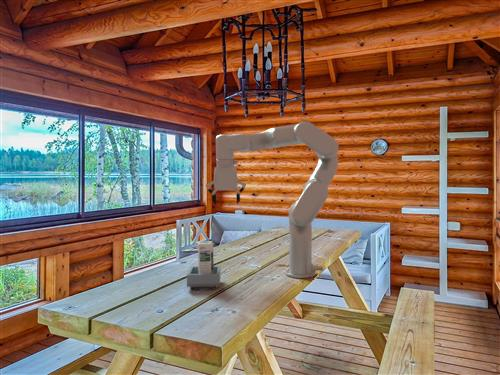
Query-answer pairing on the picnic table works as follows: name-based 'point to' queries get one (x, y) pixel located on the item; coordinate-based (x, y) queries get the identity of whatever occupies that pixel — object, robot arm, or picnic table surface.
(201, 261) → the syrup box
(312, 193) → the robot arm
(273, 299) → the picnic table surface
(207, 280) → the grey square cubby
